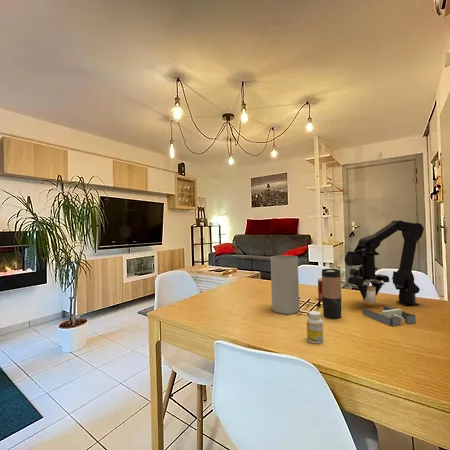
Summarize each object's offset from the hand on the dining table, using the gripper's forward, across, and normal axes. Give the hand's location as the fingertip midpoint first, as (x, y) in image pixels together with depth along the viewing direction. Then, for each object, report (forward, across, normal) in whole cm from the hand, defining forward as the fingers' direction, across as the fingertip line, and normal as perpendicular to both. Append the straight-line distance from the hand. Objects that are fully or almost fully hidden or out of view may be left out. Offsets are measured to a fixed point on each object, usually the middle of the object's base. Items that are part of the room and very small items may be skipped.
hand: (369, 297), depth 123 cm
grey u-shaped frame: (+4, +4, +14) cm, 15 cm away
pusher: (+4, +4, +18) cm, 19 cm away
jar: (+2, 0, 0) cm, 2 cm away
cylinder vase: (+4, +39, -9) cm, 40 cm away
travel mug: (+4, +24, +5) cm, 25 cm away
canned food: (+5, +12, -16) cm, 20 cm away
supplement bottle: (+4, +44, +23) cm, 50 cm away
